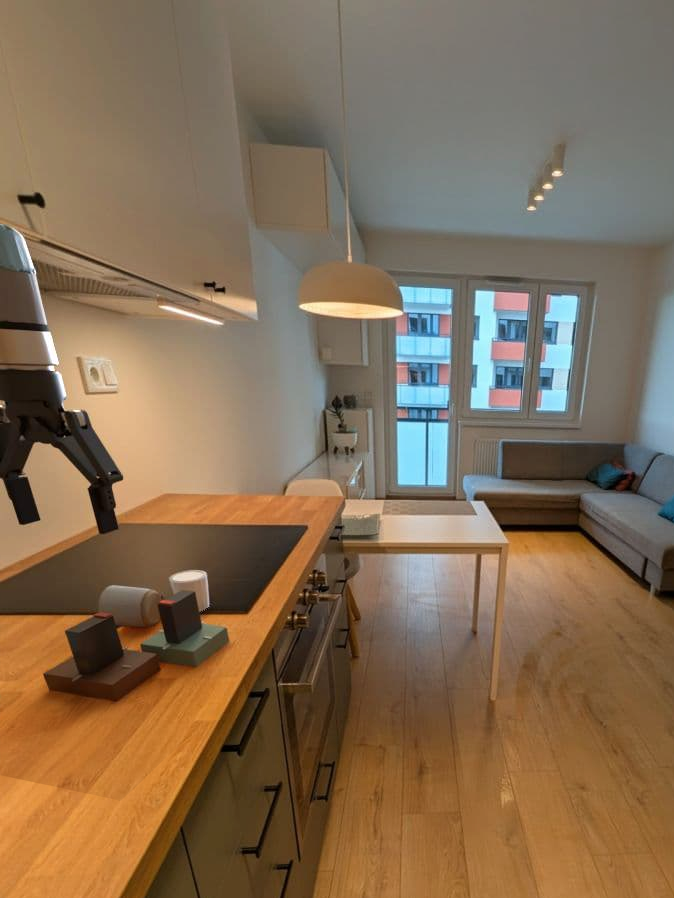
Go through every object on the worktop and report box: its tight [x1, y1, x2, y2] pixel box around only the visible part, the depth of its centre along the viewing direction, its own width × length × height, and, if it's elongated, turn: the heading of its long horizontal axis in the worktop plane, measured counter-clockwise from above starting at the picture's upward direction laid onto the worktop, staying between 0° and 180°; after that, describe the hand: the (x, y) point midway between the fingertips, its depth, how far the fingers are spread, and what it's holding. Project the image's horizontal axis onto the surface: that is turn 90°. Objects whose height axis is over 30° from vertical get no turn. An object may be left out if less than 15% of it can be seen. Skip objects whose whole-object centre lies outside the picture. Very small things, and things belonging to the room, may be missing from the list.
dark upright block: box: [157, 590, 202, 644], centre depth 85 cm, size 6×2×7 cm, turn 168°
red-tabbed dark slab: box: [64, 611, 124, 674], centre depth 77 cm, size 6×2×7 cm, turn 167°
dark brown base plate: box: [42, 645, 162, 702], centre depth 79 cm, size 12×10×3 cm
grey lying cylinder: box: [97, 584, 163, 628], centre depth 96 cm, size 11×8×8 cm
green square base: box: [139, 620, 230, 668], centre depth 87 cm, size 10×10×3 cm
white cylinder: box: [168, 569, 211, 613], centre depth 102 cm, size 7×7×7 cm
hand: (69, 527), depth 74 cm, fingers open, 13 cm apart
